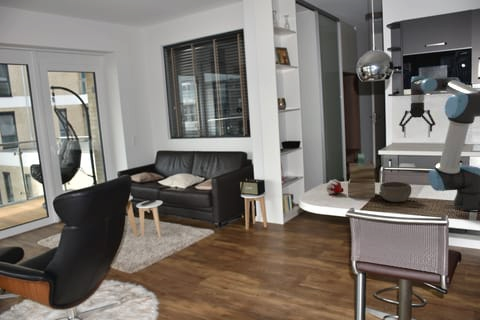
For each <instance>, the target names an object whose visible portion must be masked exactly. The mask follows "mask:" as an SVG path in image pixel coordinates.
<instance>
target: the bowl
mask: <svg viewBox="0 0 480 320" xmlns="http://www.w3.org/2000/svg"><path fill="white" fill-rule="evenodd" d="M412 189H413V188H412V187H411V185H410V183H408V182H402V181H401V182H400V181H389V182H387V181H386V182H382V183H380V187H379V192H378V194H379V196H380V197H382V198H383V200H385V201H386V202H390V203H402V202H405V201H407V200H408V199H409V198H410V196H411V195H412Z"/></svg>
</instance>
